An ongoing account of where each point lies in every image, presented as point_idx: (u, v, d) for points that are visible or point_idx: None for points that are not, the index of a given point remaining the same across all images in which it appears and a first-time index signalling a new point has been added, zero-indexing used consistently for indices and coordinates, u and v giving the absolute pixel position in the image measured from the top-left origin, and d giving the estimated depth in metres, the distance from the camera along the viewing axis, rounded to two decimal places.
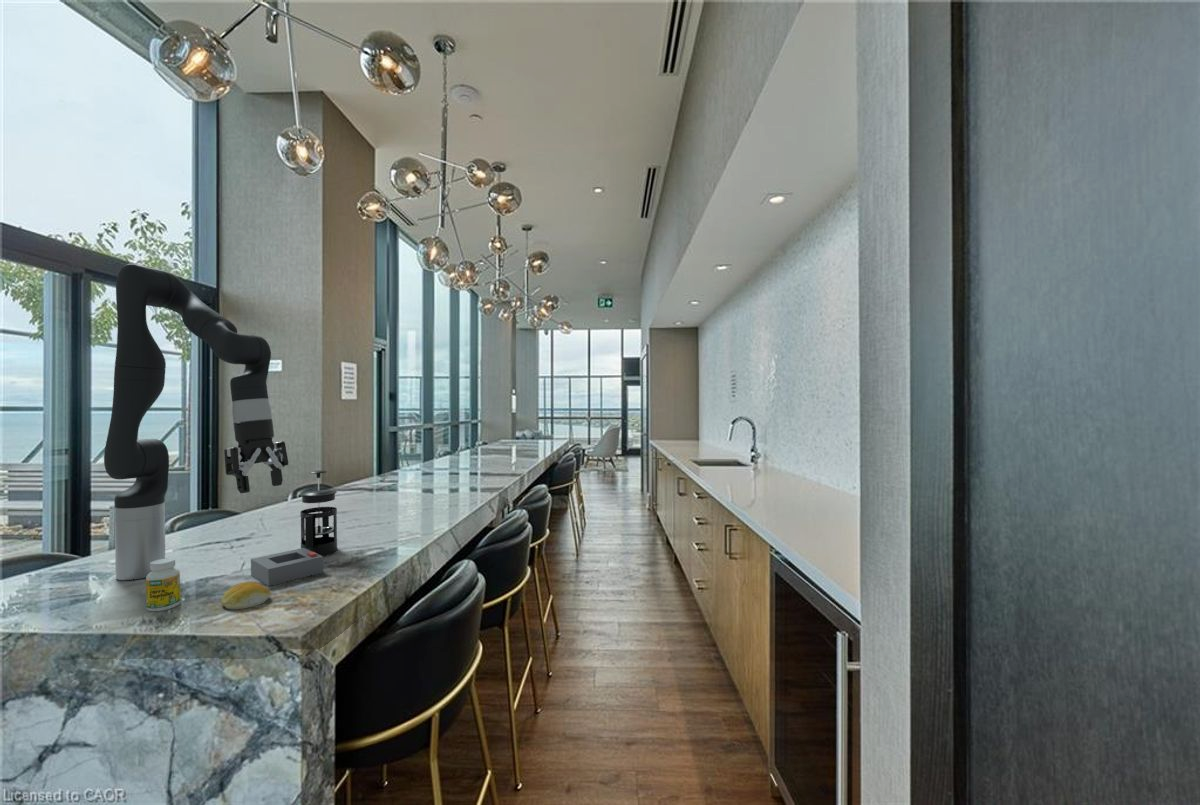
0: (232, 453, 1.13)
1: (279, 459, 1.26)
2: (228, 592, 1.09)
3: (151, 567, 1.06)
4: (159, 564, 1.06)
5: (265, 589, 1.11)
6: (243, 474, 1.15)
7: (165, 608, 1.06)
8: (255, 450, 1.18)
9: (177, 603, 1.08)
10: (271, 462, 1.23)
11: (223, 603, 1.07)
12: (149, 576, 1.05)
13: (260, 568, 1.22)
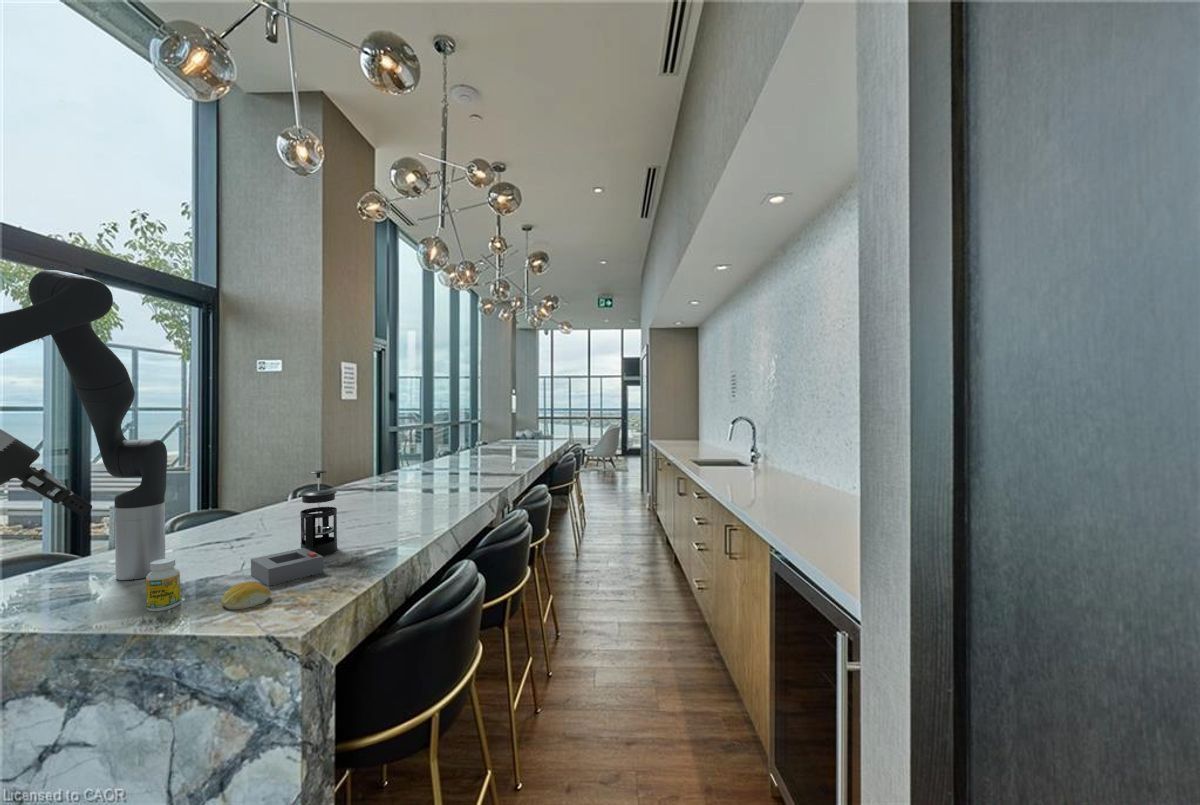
0: None
1: (59, 489, 0.91)
2: (228, 592, 1.08)
3: (151, 567, 1.06)
4: (159, 564, 1.06)
5: (266, 589, 1.10)
6: None
7: (165, 608, 1.06)
8: None
9: (177, 603, 1.08)
10: None
11: (223, 603, 1.07)
12: (149, 576, 1.05)
13: (260, 568, 1.22)
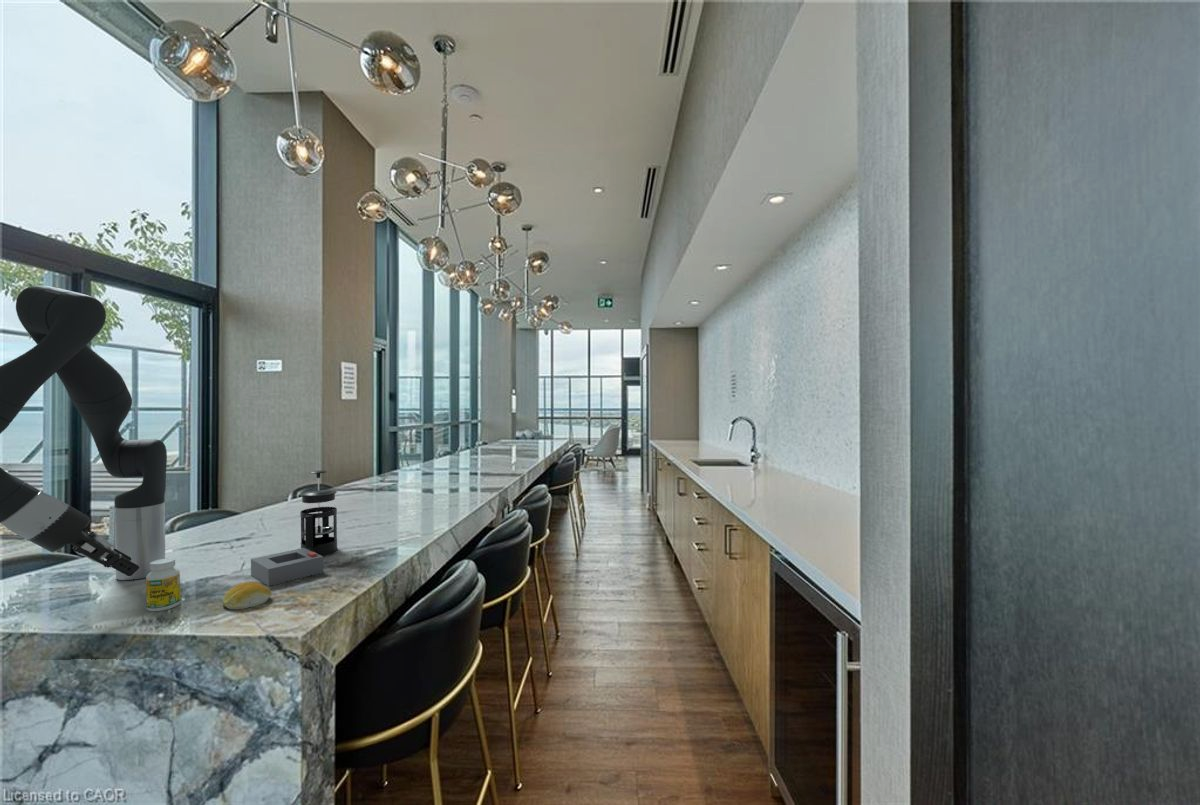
0: None
1: (109, 553, 0.96)
2: (229, 592, 1.08)
3: (151, 567, 1.06)
4: (159, 564, 1.06)
5: (266, 589, 1.10)
6: None
7: (165, 608, 1.06)
8: None
9: (177, 603, 1.08)
10: None
11: (224, 603, 1.07)
12: (149, 576, 1.05)
13: (260, 568, 1.22)
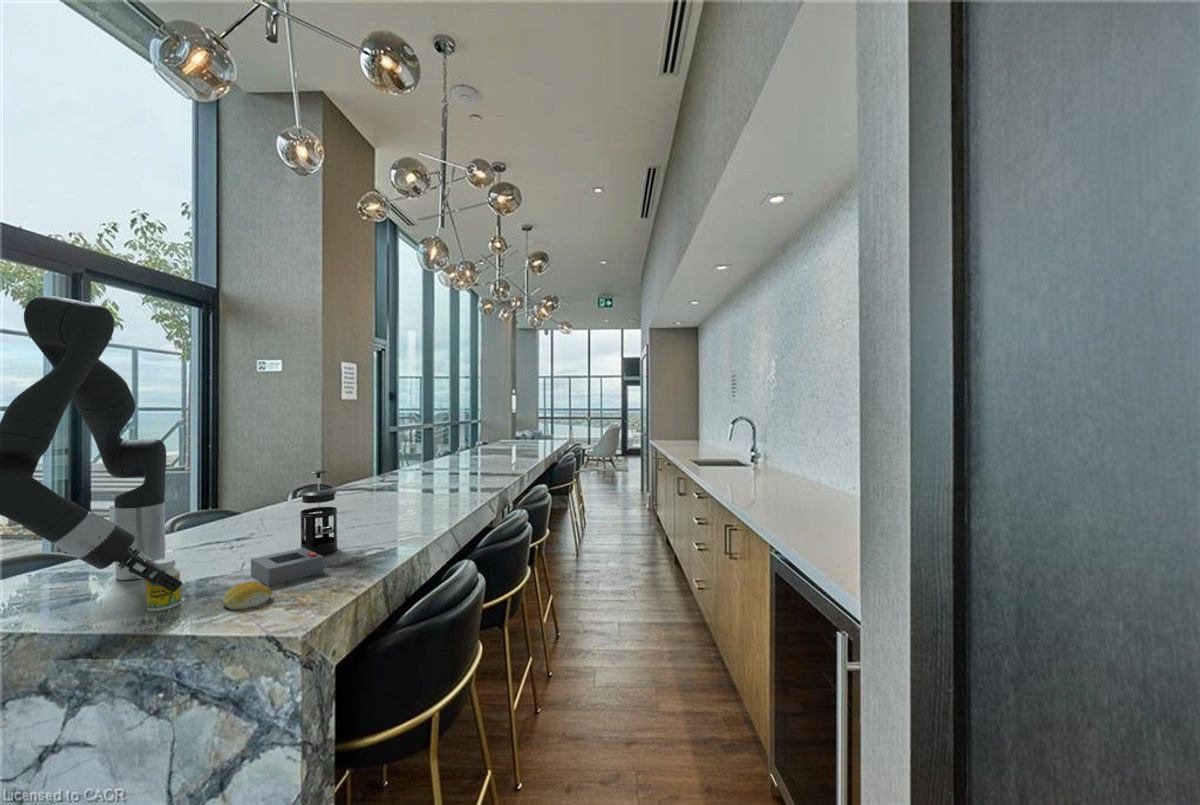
0: None
1: (157, 571, 1.02)
2: (229, 592, 1.08)
3: None
4: (159, 564, 1.06)
5: (267, 589, 1.10)
6: None
7: (165, 608, 1.06)
8: None
9: (177, 603, 1.08)
10: None
11: (224, 603, 1.07)
12: None
13: (260, 568, 1.22)
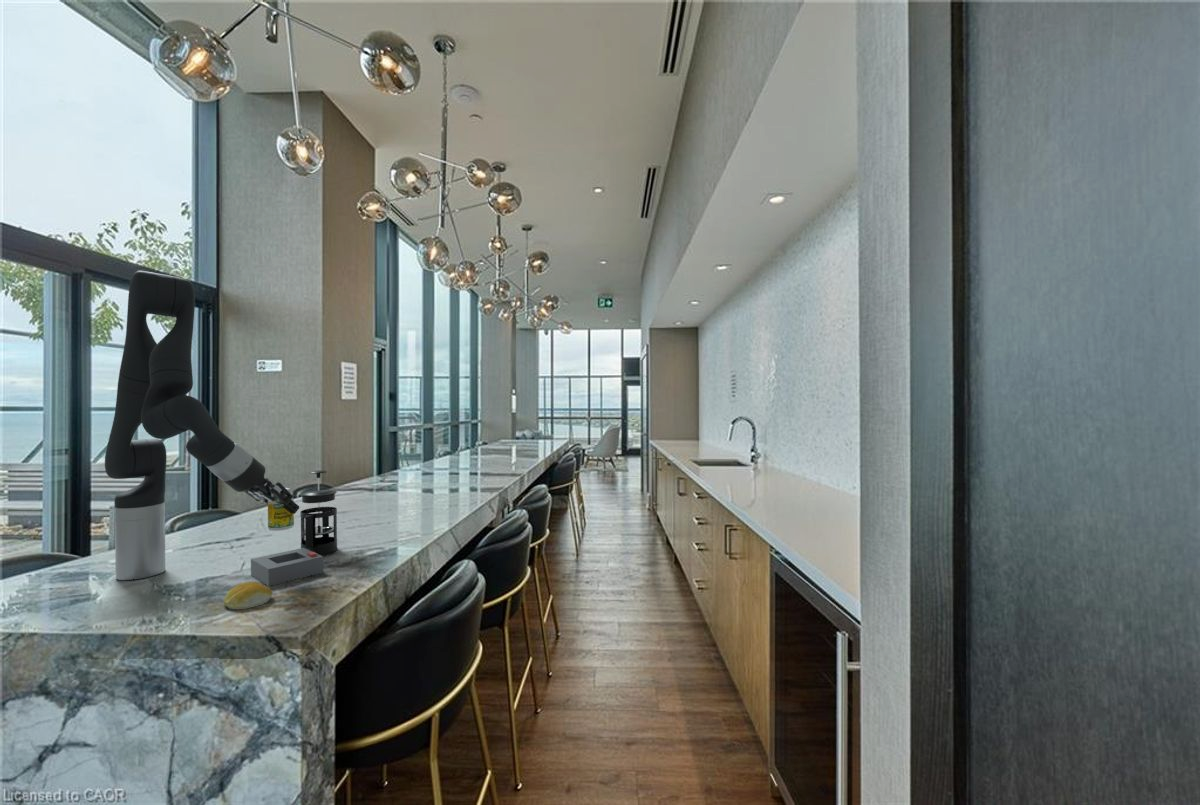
0: None
1: (287, 494, 1.21)
2: (230, 592, 1.08)
3: None
4: None
5: (268, 589, 1.10)
6: None
7: (286, 528, 1.24)
8: None
9: (293, 525, 1.26)
10: None
11: (225, 603, 1.07)
12: None
13: (260, 568, 1.22)
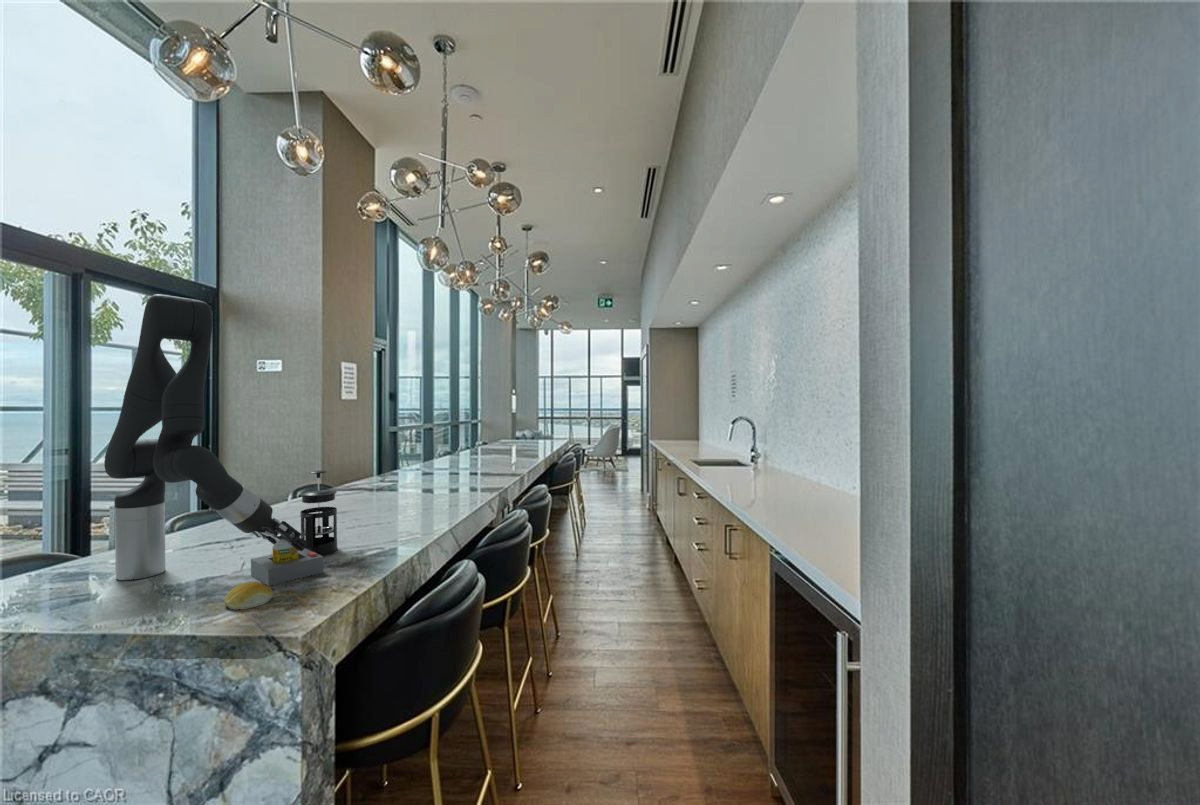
0: None
1: (294, 532, 1.22)
2: (231, 592, 1.08)
3: None
4: None
5: (268, 590, 1.10)
6: None
7: None
8: None
9: None
10: None
11: (226, 603, 1.07)
12: (278, 546, 1.25)
13: (260, 568, 1.22)
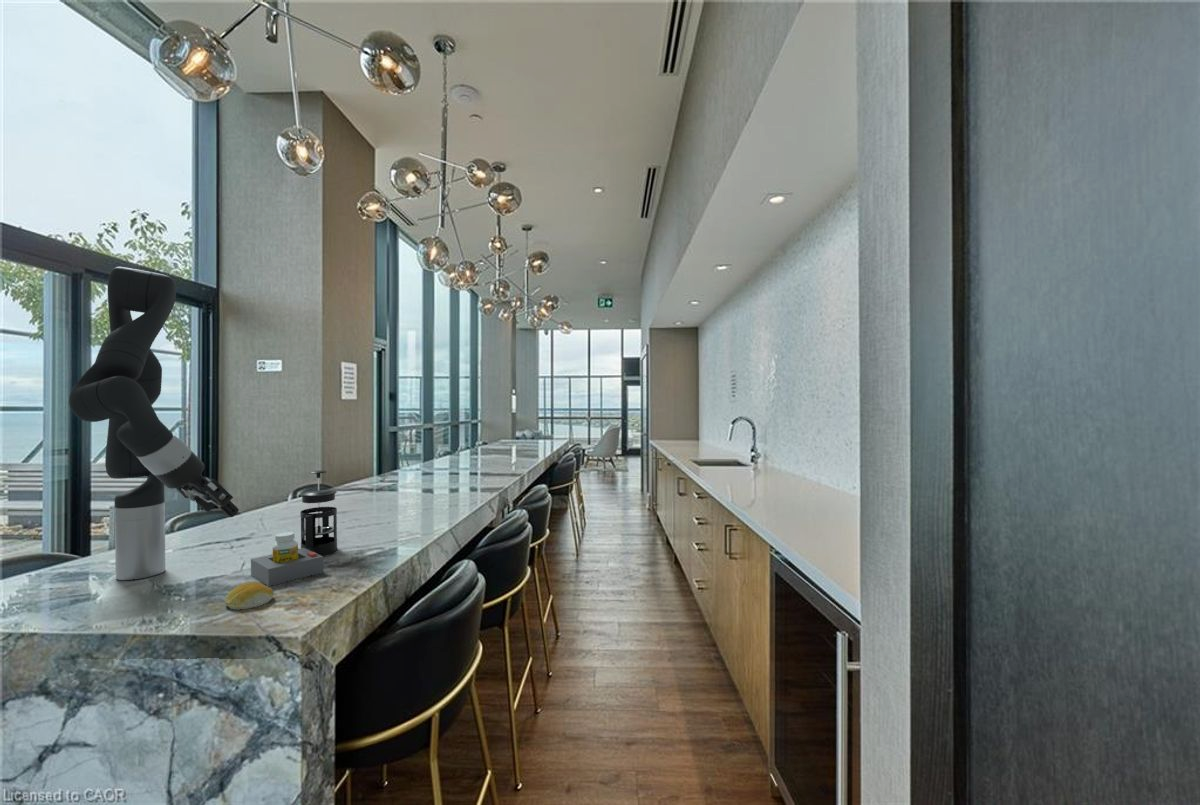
0: None
1: (225, 494, 1.10)
2: (232, 592, 1.08)
3: (278, 539, 1.25)
4: (285, 536, 1.25)
5: (269, 590, 1.10)
6: None
7: None
8: None
9: None
10: None
11: (227, 603, 1.06)
12: (278, 546, 1.24)
13: (260, 568, 1.22)
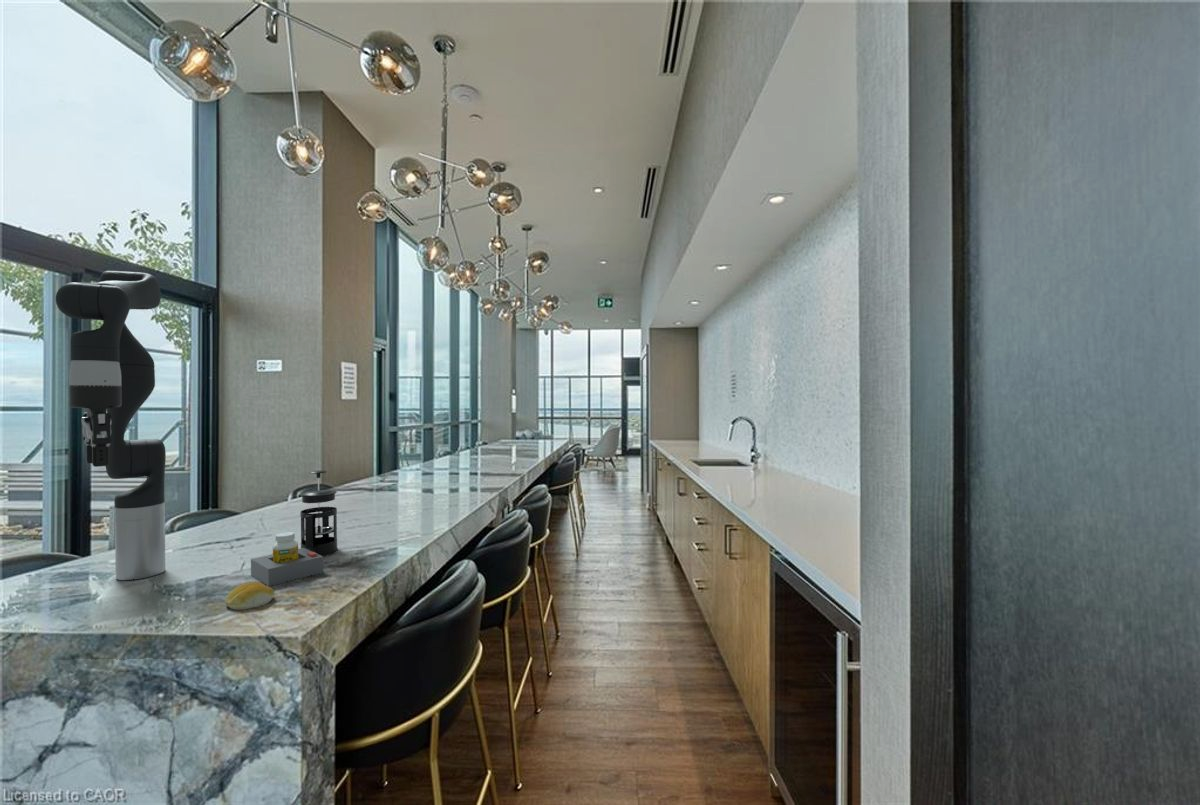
0: None
1: (107, 435, 1.00)
2: (232, 592, 1.08)
3: (278, 539, 1.25)
4: (286, 536, 1.25)
5: (270, 590, 1.10)
6: None
7: None
8: None
9: None
10: None
11: (227, 603, 1.06)
12: (278, 546, 1.24)
13: (260, 568, 1.22)
